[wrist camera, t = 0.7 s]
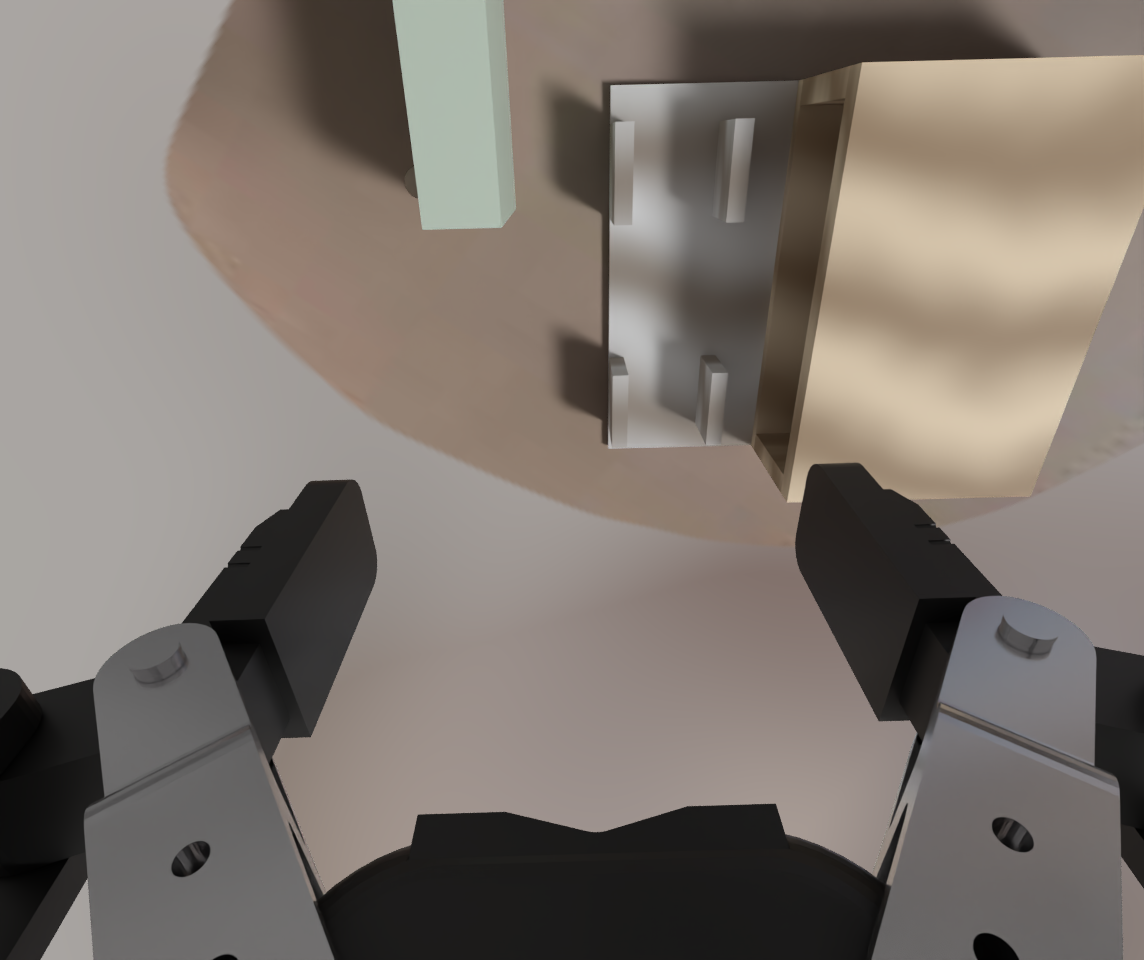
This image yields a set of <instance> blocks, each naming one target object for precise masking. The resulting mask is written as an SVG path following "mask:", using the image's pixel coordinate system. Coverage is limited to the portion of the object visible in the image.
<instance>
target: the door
mask: <svg viewBox="0 0 1144 960" xmlns="http://www.w3.org/2000/svg"><path fill="white" fill-rule="evenodd" d="M392 1H393V9H394V16H395V24H396V32H397V39H398V47H399V55H400V62H401V70H402V78H403V85H404V93H405V101H406V108H407V116H408V124H409V131H410V139H411V146H412V154H413V162H414V167H412V168H410V169H409V170H408V171H407V173H406V175H405V180H404V182H405V187H406V189H407V191H408V192H409V193H410V194H411V195H412V196H413V197H415V198H418V200H419V208H420V215H421V223H422V230H430V229H469V228H502V226H503V225H504V224H505V223H506V221H507V220H508V219H509V217H510V216H511V215H512V214H513V212H514V211H515V210H516V201H515V184H514V168H513V152H512V135H511V119H510V103H509V86H508V70H507V53H506V37H505V21H504V4H503V0H392Z"/></svg>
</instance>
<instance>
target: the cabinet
mask: <svg viewBox="0 0 1144 960" xmlns="http://www.w3.org/2000/svg"><path fill="white" fill-rule="evenodd" d="M1143 208H1144V55H1131V56H1092V57H1054V58H1015V59H976V60H937V61H898V62H862V63H858V64H855V65H851V66H848V67H844V68H841V69H837V70H834V71H830V72H827V73H823V74H820V75H816V76H813V77H809V78H806V79H802V80H797V81H758V82H719V83H681V84H642V85H611V86H610V191H609V348H608V449H614V448H654V447H693V446H733V445H751V446H752V447H753V449H754V451H755V452H756V454H757V455H758V457H759V459H760V460H761V462H762V463H763V465H764V467H765V468H766V470H767V471H768V473H769V475H770V476H771V478H772V479H773V481H774V482H775V484H776V486H777V487H778V489H779V490H780V492H781V494H782V495H783V497H784V498H785V500H786V502H802V500H803V495H804V489H805V484H806V478H807V474H808V471H809V469H810V467H811V466H812V465H813V464H825V463H853V462H857V463H860V464H861V465H863V466H864V468H865V469H866V470H867V471H868V472H869V473H870V474H871V476H872V477H873V478H874V479H875V480H876V481H877V483H878V484H879V485H880V486H881V487H882V488H883V489H892V490H894V491H895V492H897V493H899V494H901V495H902V496H904V497H906V498H907V499H946V498H986V497H1026V496H1031V494H1032V491H1033V488H1034V486H1035V483H1036V481H1037V478H1038V476H1039V473H1040V471H1041V468H1042V465H1043V463H1044V460H1045V458H1046V455H1047V453H1048V450H1049V448H1050V445H1051V442H1052V440H1053V437H1054V435H1055V432H1056V430H1057V427H1058V425H1059V422H1060V420H1061V417H1062V414H1063V412H1064V409H1065V407H1066V404H1067V402H1068V399H1069V397H1070V394H1071V391H1072V389H1073V386H1074V384H1075V381H1076V379H1077V376H1078V374H1079V371H1080V368H1081V366H1082V363H1083V361H1084V358H1085V356H1086V353H1087V351H1088V348H1089V345H1090V343H1091V340H1092V338H1093V335H1094V333H1095V330H1096V328H1097V325H1098V322H1099V320H1100V317H1101V315H1102V312H1103V310H1104V307H1105V305H1106V302H1107V299H1108V297H1109V294H1110V292H1111V289H1112V287H1113V284H1114V282H1115V279H1116V277H1117V274H1118V271H1119V269H1120V266H1121V264H1122V261H1123V259H1124V256H1125V254H1126V251H1127V248H1128V246H1129V243H1130V241H1131V238H1132V236H1133V233H1134V231H1135V228H1136V225H1137V223H1138V220H1139V218H1140V215H1141V213H1142V210H1143Z"/></svg>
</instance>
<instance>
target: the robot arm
mask: <svg viewBox="0 0 1144 960" xmlns="http://www.w3.org/2000/svg"><path fill="white" fill-rule="evenodd" d="M795 549H796V558H797V562H798V566H799V569H800V571H801V574H802V575H803V577H804V579H805V581H806V583H807V585H808V587H809V589H810V591H811V593H812V594H813V596H814V598H815V600H816V602H817V604H818V606H819V607H820V610H821V611H822V614H823V615H824V617H825V619H826V621H827V623H828V625H829V627H830V629H831V631H832V633H833V635H834V636H835V638H836V640H837V642H838V644H839V646H840V648H841V650H842V652H843V654H844V656H845V657H846V659H847V661H848V663H849V665H850V667H851V669H852V671H853V673H854V675H855V677H856V679H857V680H858V682H859V684H860V686H861V688H862V690H863V692H864V694H865V696H866V698H867V699H868V701H869V703H870V705H871V707H872V709H873V711H874V713H875V715H876V717H877V718H878V720H879V721H904V720H910V721H911V723H912V725H913V726H914V728H915V730H916V731H917V733H916V736H915V739H914V741H913V744H912V746H911V750H910V753H909V756H908V760H907V763H906V767H905V770H904V773H903V776H902V779H901V783H900V786H899V790H898V793H897V796H896V800H895V803H894V806H893V810H892V812H891V816H890V819H889V822H888V826H887V829H886V832H885V836H884V839H883V843H882V845H881V849H880V852H879V855H878V858H877V861H876V863H875V866H874V869H873V872H872V874H871V873H869V872H868V871H867V870H865V869H863V868H862V867H860V866H858V865H857V864H855V863H853V862H851V861H850V860H848V859H847V858H845V857H843V856H841V855H839V854H837V853H835V852H833V851H831V850H829V849H826V848H825V847H822V846H820V845H818V844H815V843H812V842H809V841H806V840H803V839H801V838H798V837H794V836H790V835H786V834H785V832H784V829H783V826H782V822H781V819H780V816H779V813H778V809H777V806H776V804H752V805H721V806H687V807H684V808H681V809H678V810H674V811H671V812H668V813H664V814H661V815H658V816H655V817H651V818H648V819H645V820H641V821H638V822H635V823H632V824H628V825H625V826H622V827H618V828H615V829H611V830H608V831H604V832H588V831H583V830H579V829H575V828H570V827H567V826H562V825H558V824H554V823H549V822H545V821H541V820H537V819H533V818H529V817H524V816H520V815H515V814H512V813H507V812H489V813H458V814H457V813H456V814H425V815H418V816H417V821H416V825H415V831H414V835H413V839H412V844H411V846H408V847H404V848H401V849H398V850H396V851H394V852H391V853H389V854H387V855H384V856H382V857H380V858H377V859H376V860H374V861H372V862H370V863H369V864H367V865H365V866H363V867H361V868H360V869H358V870H356V871H355V872H353V873H352V874H350V875H349V876H348V877H346V878H345V879H343V880H342V881H341V882H339V883H338V884H336V885H335V886H334V887H332V888H331V889H330V890H329V891H328V892H326V890H325V887H324V885H323V883H322V880H321V878H320V876H319V873H318V871H317V868H316V866H315V863H314V861H313V858H312V856H311V853H310V851H309V848H308V846H307V843H306V840H305V838H304V835H303V833H302V830H301V828H300V825H299V823H298V820H297V818H296V815H295V812H294V810H293V807H292V805H291V802H290V800H289V797H288V794H287V792H286V789H285V787H284V784H283V781H282V779H281V776H280V774H279V771H278V769H277V766H276V764H275V762H274V760H273V757H272V756H273V754H274V752H275V750H276V748H277V746H278V743H279V741H280V739H281V738H298V737H311V735H312V733H313V731H314V728H315V726H316V723H317V721H318V718H319V716H320V714H321V711H322V709H323V706H324V704H325V702H326V699H327V697H328V694H329V692H330V690H331V687H332V685H333V682H334V680H335V678H336V675H337V673H338V670H339V668H340V666H341V663H342V661H343V658H344V656H345V653H346V651H347V649H348V646H349V644H350V641H351V639H352V636H353V634H354V632H355V629H356V627H357V625H358V622H359V620H360V617H361V615H362V612H363V610H364V608H365V605H366V603H367V600H368V598H369V595H370V593H371V591H372V588H373V586H374V583H375V579H376V573H377V555H376V549H375V545H374V541H373V537H372V533H371V529H370V525H369V521H368V517H367V513H366V509H365V504H364V501H363V496H362V492H361V489H360V487H359V485H358V483H357V482H356V481H355V480H328V481H311V482H309V483H308V484H307V485H306V486H305V487H304V489H303V490H302V492H301V493H300V494H299V496H298V497H297V499H296V500H295V501H294V503H293V504H292V506H291V507H290V508H289V509H287V510H279V511H278V512H276V513H275V514H274V515H272V516H271V517H269V518H268V519H266V520H265V521H264V522H262V523H261V524H259V525H258V526H257V527H255V529H254V530H253V531H252V532H251V534H250V535H249V536H248V538H247V539H246V540H245V542H244V543H243V544H242V545H241V550H240V551H237V552H236V554H235V555H234V556H233V557H232V558H231V560H230V561H229V562H228V568H224V569H223V570H222V572H221V573H220V574H219V575H218V577H217V578H216V579H215V581H214V582H213V583H212V585H211V586H210V587H209V588H208V590H207V591H206V592H205V594H204V595H203V596H202V598H201V599H200V600H199V602H198V603H197V604H196V605H195V607H194V608H193V609H192V611H191V612H190V613H189V615H188V616H187V617H186V619H185V620H184V621H183V622H182V624H175V625H170V626H167V627H163V628H160V629H157V630H154V631H151V632H149V633H147V634H145V635H143V636H140V637H138V638H137V639H135V640H133V641H131V642H130V643H128V644H127V645H125V646H124V647H122V648H121V649H120V650H118V651H117V652H116V653H114V654H113V655H112V656H111V657H110V658H109V659H108V660H107V661H106V662H105V663H104V665H103V666H102V667H101V669H100V670H99V672H98V673H97V675H96V677H95V678H94V679H90V680H86V681H83V682H79V683H75V684H71V685H67V686H63V687H59V688H55V689H52V690H48V691H44V692H40V693H36V694H32V693H31V692H30V690H29V689H28V687H27V686H26V684H25V683H24V682H23V680H22V679H21V677H20V676H19V675H18V674H17V673H16V672H13V671H11V670H8V669H2V668H0V960H40V959H41V958H42V956H43V954H44V952H45V951H46V949H47V947H48V946H49V944H50V942H51V940H52V939H53V937H54V935H55V933H56V932H57V930H58V928H59V926H60V925H61V923H62V921H63V919H64V918H65V916H66V914H67V913H68V911H69V909H70V907H71V906H72V904H73V902H74V901H75V899H76V897H77V895H78V894H79V892H80V890H81V888H82V887H83V885H84V883H85V882H86V880H87V878H88V889H89V903H90V916H91V929H92V942H93V957H94V960H1123V937H1122V936H1123V935H1122V885H1121V884H1122V883H1121V882H1122V881H1121V857H1122V858H1123V859H1124V861H1125V862H1126V864H1127V865H1128V867H1129V868H1130V870H1131V871H1132V873H1133V874H1134V875H1135V877H1136V878H1137V880H1138V881H1139V882H1140V884H1141V885H1142V887H1143V888H1144V656H1142V655H1136V654H1131V653H1126V652H1120V651H1115V650H1109V649H1104V648H1099V647H1094V646H1093V644H1092V642H1091V641H1090V639H1089V638H1088V637H1087V635H1086V634H1085V633H1084V632H1083V631H1082V630H1081V629H1080V628H1078V627H1077V626H1076V625H1075V624H1074V623H1072V622H1071V621H1069V620H1068V619H1066V618H1065V617H1063V616H1062V615H1060V614H1058V613H1056V612H1055V611H1052V610H1050V609H1048V608H1046V607H1044V606H1041V605H1039V604H1036V603H1033V602H1030V601H1026V600H1022V599H1019V598H1013V597H1007V596H1002V595H1001V594H1000V593H999V592H998V591H997V589H995V587H994V586H993V585H992V584H991V583H990V582H989V581H988V580H987V579H986V578H985V577H984V576H983V574H982V573H981V572H980V571H979V570H978V569H977V568H976V567H975V566H974V565H973V564H972V562H970V560H969V559H968V558H967V557H966V556H965V555H964V554H963V553H962V552H961V551H960V550H959V548H957V546H956V545H955V544H951V543H950V539H949V538H948V536H947V535H946V534H945V533H944V532H943V531H942V530H941V529H940V528H936V524H935V522H934V521H933V520H932V519H931V518H930V517H929V516H928V515H927V514H926V513H925V512H924V511H923V509H922V508H921V507H920V506H919V505H918V504H916V503H914V502H913V501H911V500H909V499H907V498H906V497H904V496H902V495H901V494H899V493H897V492H895V491H894V490H892V489H883V488H882V487H881V486H880V485H879V484H878V483H877V481H876V480H875V479H874V478H873V477H872V476H871V474H870V473H869V472H868V471H867V470H866V469H865V468H864V466H863V465H861V464H860V463H857V462H853V463H825V464H813V465H812V466H811V467H810V469H809V471H808V474H807V478H806V484H805V489H804V495H803V500H802V506H801V511H800V517H799V522H798V528H797V533H796V541H795Z"/></svg>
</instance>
